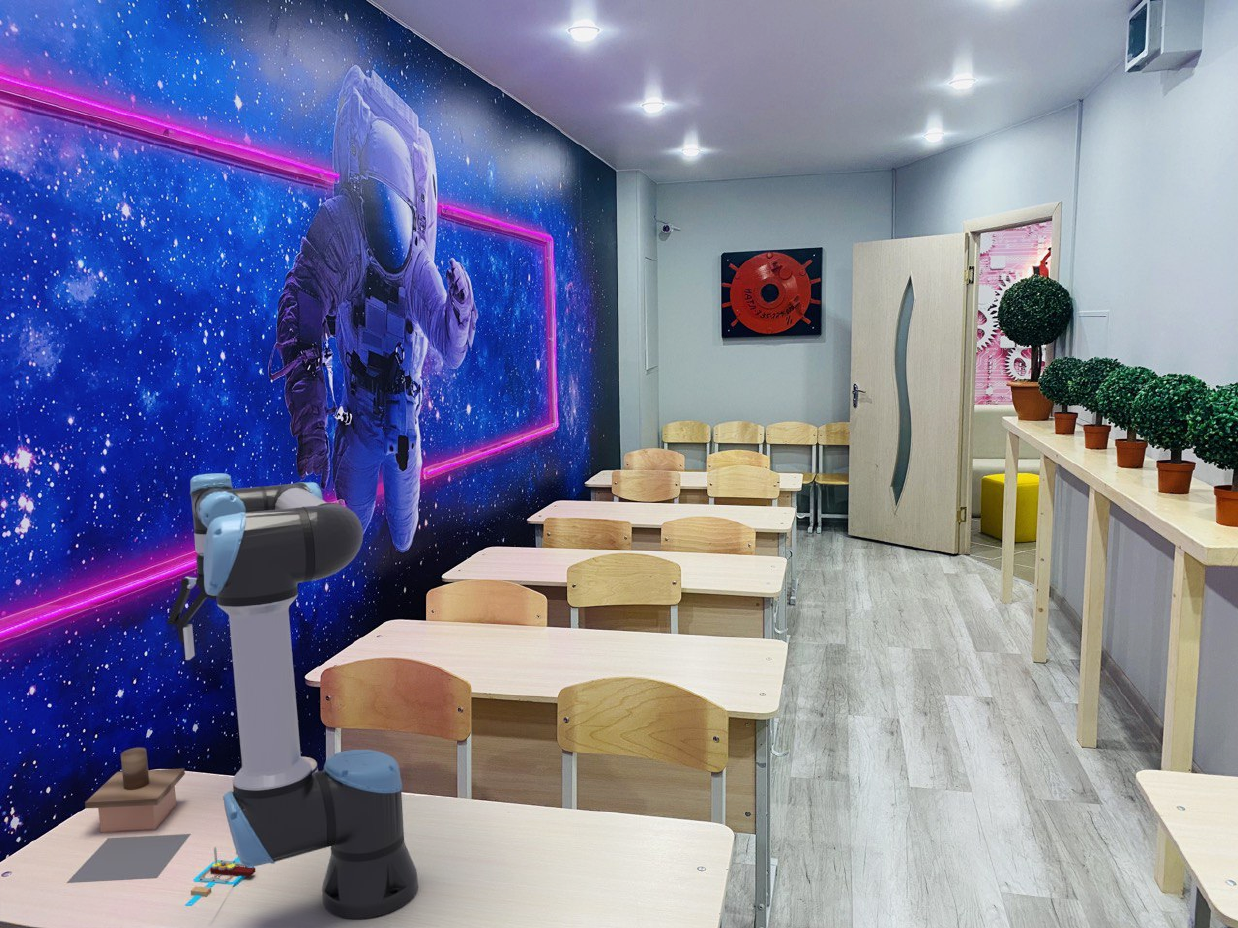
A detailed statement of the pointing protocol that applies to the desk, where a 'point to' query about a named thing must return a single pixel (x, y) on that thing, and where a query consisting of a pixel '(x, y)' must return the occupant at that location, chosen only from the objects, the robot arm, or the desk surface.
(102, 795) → the walnut lid
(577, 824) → the desk surface
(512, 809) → the desk surface
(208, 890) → the gear mechanism
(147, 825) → the square bowl
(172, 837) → the rubber mat
